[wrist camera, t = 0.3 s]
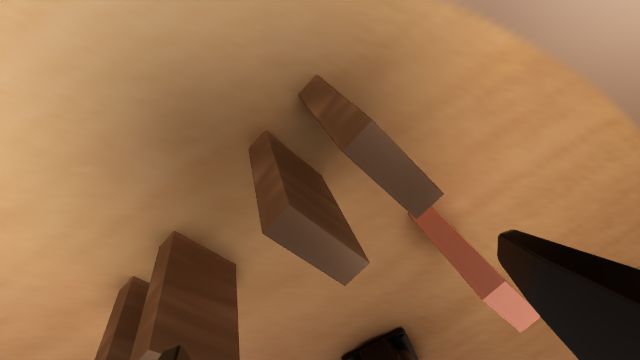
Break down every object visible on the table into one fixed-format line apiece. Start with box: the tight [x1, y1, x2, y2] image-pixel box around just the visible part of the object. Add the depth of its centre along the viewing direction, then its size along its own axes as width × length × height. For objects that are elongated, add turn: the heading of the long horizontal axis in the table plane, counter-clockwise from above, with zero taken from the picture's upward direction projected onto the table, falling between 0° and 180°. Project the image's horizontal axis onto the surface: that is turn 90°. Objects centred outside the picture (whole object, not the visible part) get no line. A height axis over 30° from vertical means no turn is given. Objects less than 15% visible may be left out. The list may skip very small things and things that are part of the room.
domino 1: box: [95, 276, 150, 360], centre depth 21 cm, size 2×5×9 cm, turn 45°
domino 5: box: [408, 207, 540, 332], centre depth 24 cm, size 2×5×9 cm, turn 45°
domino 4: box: [298, 75, 444, 219], centre depth 18 cm, size 2×5×9 cm, turn 45°
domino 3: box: [249, 131, 370, 286], centre depth 19 cm, size 2×5×9 cm, turn 45°
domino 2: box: [130, 231, 240, 360], centre depth 20 cm, size 2×5×9 cm, turn 45°
